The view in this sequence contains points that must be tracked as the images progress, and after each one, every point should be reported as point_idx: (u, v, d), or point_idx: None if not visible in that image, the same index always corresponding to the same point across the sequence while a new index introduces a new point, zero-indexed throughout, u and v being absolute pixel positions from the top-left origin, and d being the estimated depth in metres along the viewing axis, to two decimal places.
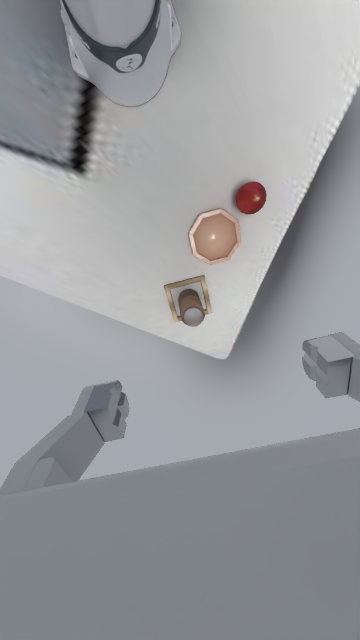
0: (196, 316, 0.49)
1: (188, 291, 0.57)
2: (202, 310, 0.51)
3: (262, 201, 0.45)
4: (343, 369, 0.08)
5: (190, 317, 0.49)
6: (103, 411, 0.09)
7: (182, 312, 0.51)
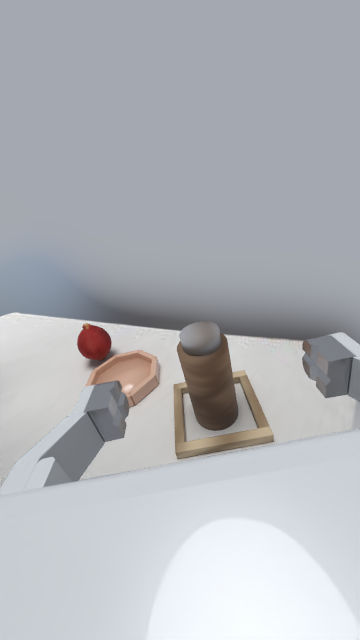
0: (196, 329, 0.24)
1: None
2: None
3: None
4: (343, 369, 0.08)
5: (196, 335, 0.23)
6: (103, 410, 0.09)
7: (191, 358, 0.23)
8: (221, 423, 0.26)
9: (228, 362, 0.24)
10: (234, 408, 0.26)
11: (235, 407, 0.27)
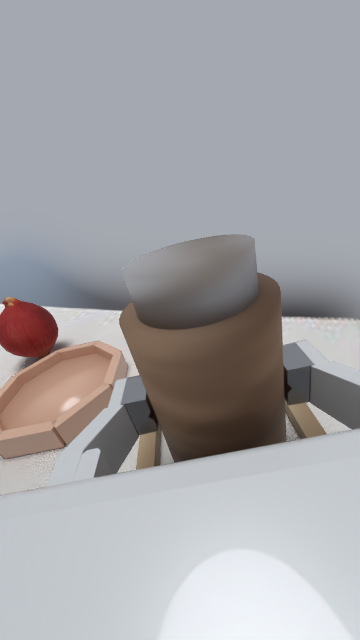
0: (178, 250, 0.08)
1: None
2: None
3: None
4: (303, 377, 0.08)
5: (176, 259, 0.07)
6: (140, 403, 0.09)
7: (157, 335, 0.06)
8: None
9: (281, 352, 0.07)
10: None
11: None
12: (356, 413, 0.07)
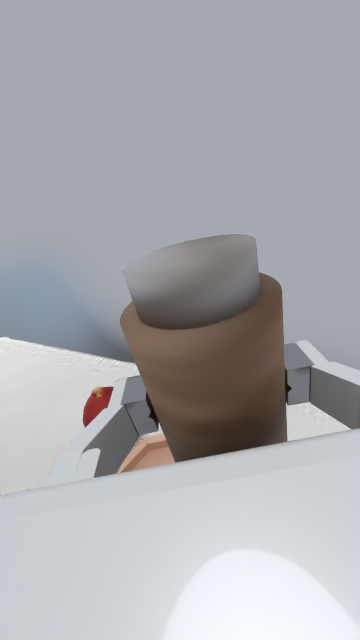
0: (179, 250, 0.08)
1: None
2: None
3: (111, 387, 0.27)
4: (303, 377, 0.08)
5: (177, 259, 0.07)
6: (140, 403, 0.09)
7: (158, 335, 0.06)
8: None
9: (282, 353, 0.07)
10: None
11: None
12: (356, 413, 0.07)
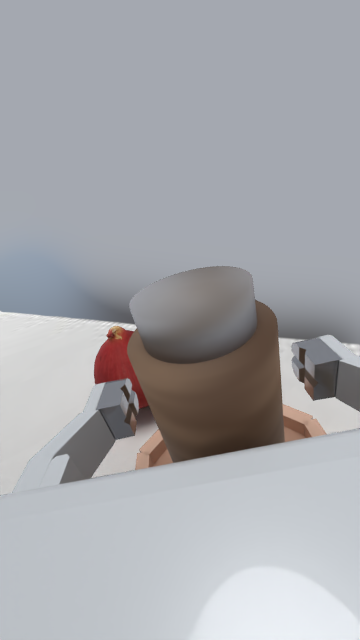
0: (181, 283, 0.08)
1: None
2: None
3: None
4: (330, 372, 0.08)
5: (180, 296, 0.07)
6: (115, 408, 0.09)
7: (163, 369, 0.07)
8: None
9: (279, 379, 0.08)
10: None
11: None
12: None
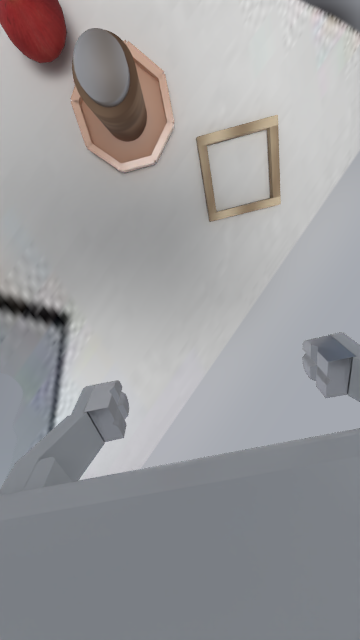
0: (94, 54, 0.18)
1: None
2: None
3: None
4: (343, 369, 0.08)
5: (99, 77, 0.18)
6: (103, 411, 0.09)
7: (100, 110, 0.20)
8: (132, 138, 0.28)
9: (138, 97, 0.21)
10: (144, 122, 0.27)
11: (144, 120, 0.27)
12: None
